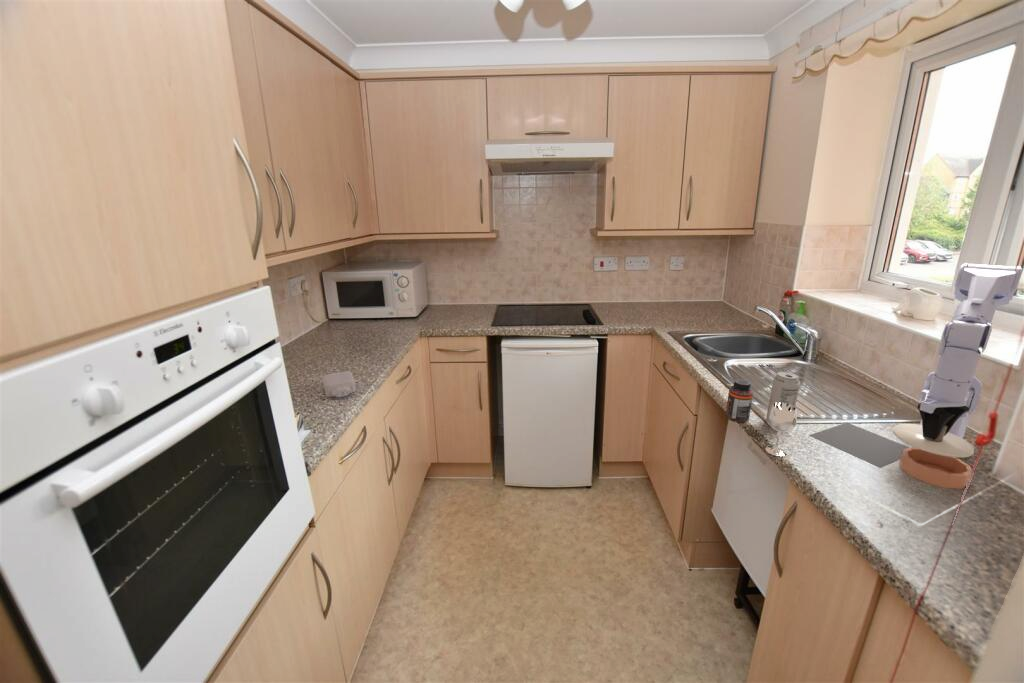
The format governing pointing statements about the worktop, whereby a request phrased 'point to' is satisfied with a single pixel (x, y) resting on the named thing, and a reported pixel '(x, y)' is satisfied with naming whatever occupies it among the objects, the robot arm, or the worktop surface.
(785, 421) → the wineglass
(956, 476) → the bowl
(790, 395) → the energy drink can
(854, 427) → the mat
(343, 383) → the charger
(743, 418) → the supplement bottle
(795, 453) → the worktop surface
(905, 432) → the lid
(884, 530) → the worktop surface
